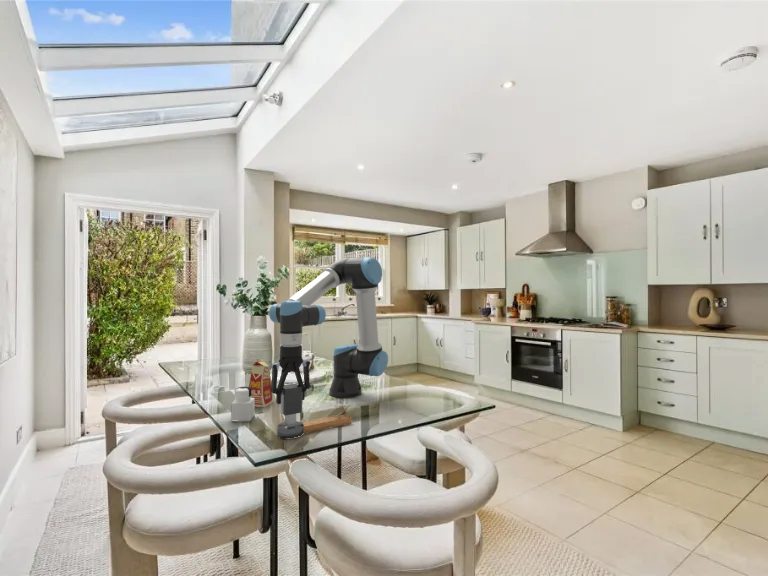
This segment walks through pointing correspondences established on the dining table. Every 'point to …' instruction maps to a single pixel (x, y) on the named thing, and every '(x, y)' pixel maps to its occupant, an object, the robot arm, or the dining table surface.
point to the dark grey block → (292, 399)
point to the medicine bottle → (242, 405)
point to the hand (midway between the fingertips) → (290, 411)
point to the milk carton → (261, 384)
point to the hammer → (309, 425)
